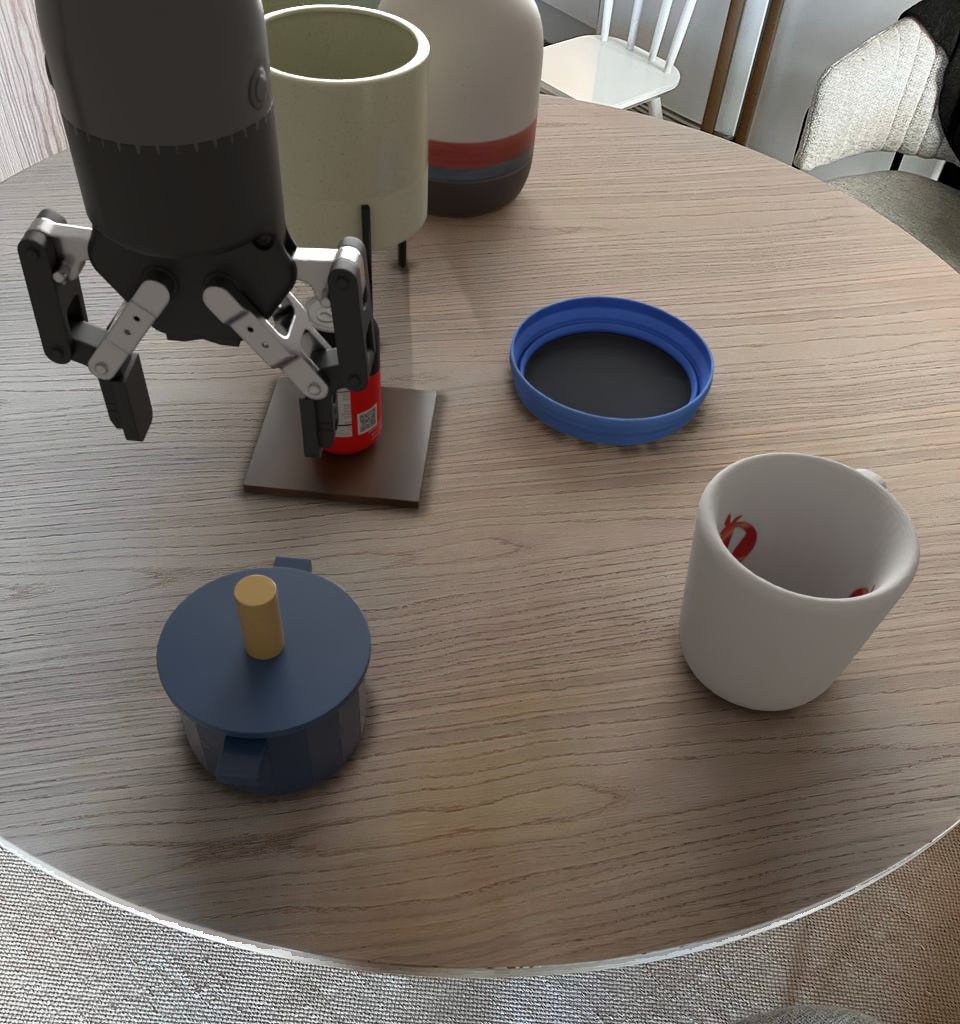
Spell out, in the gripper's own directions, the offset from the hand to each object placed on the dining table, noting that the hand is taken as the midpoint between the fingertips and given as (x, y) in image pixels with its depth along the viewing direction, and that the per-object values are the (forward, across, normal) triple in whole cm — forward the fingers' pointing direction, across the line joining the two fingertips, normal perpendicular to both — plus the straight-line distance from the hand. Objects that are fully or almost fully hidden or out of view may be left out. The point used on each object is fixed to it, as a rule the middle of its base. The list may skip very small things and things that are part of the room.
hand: (228, 438), depth 49 cm
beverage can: (+24, 0, -28) cm, 36 cm away
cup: (+24, -34, -11) cm, 43 cm away
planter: (+24, +3, -49) cm, 55 cm away
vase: (+24, -5, -71) cm, 75 cm away
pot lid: (+17, 0, 0) cm, 17 cm away
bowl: (+24, -22, -39) cm, 51 cm away
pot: (+24, 0, 0) cm, 24 cm away
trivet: (+24, 0, -28) cm, 37 cm away
